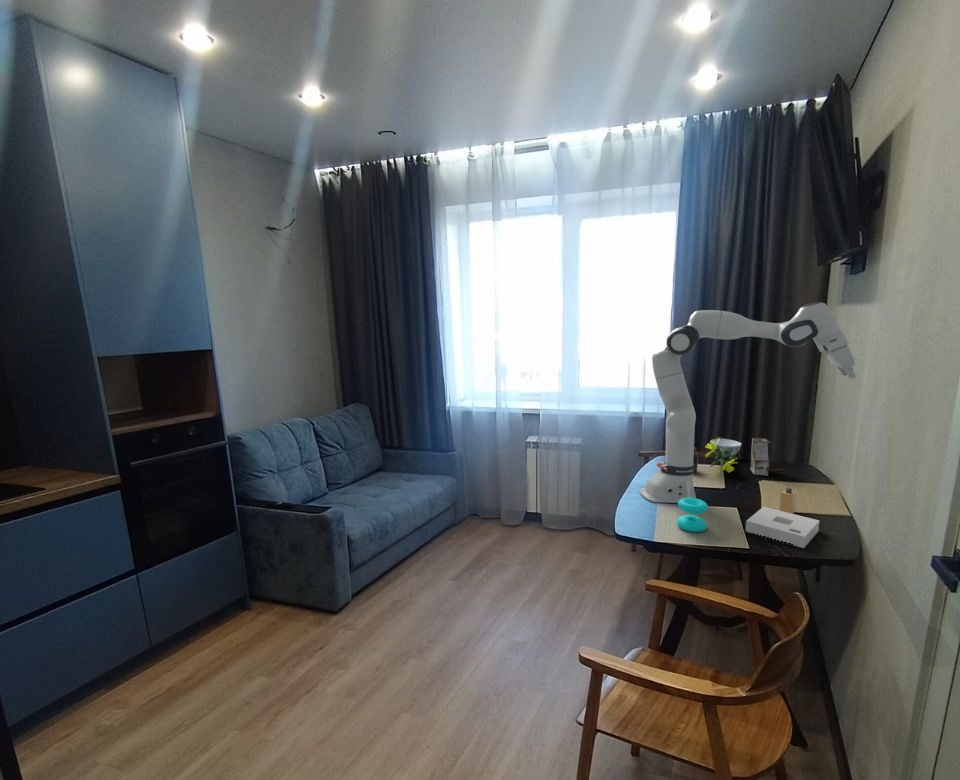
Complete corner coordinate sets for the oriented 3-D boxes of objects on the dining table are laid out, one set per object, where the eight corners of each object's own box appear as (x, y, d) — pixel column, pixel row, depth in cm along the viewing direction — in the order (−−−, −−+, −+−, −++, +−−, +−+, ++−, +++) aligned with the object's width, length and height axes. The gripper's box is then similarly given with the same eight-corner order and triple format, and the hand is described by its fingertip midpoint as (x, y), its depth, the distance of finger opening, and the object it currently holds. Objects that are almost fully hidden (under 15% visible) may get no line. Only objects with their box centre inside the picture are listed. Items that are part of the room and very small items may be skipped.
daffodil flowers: (750, 466, 249) (743, 466, 220) (721, 477, 256) (711, 478, 227) (733, 436, 255) (724, 432, 226) (705, 447, 262) (693, 445, 233)
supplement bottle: (692, 474, 236) (693, 450, 234) (679, 471, 241) (680, 447, 239) (700, 471, 240) (701, 447, 238) (687, 468, 245) (688, 445, 243)
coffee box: (768, 475, 232) (771, 442, 229) (753, 474, 234) (755, 442, 231) (764, 470, 240) (766, 438, 238) (749, 468, 242) (752, 437, 240)
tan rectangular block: (779, 511, 191) (781, 488, 189) (782, 509, 193) (784, 486, 192) (791, 514, 188) (793, 491, 186) (794, 511, 191) (796, 488, 189)
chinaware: (744, 456, 263) (745, 442, 262) (734, 462, 253) (735, 447, 252) (715, 450, 274) (716, 437, 273) (704, 456, 264) (705, 442, 263)
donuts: (705, 509, 170) (675, 503, 176) (703, 536, 172) (674, 529, 178) (710, 499, 178) (681, 494, 184) (709, 525, 180) (680, 519, 186)
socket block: (745, 531, 175) (746, 519, 174) (762, 516, 187) (763, 505, 186) (803, 548, 162) (805, 536, 161) (818, 531, 174) (819, 519, 173)
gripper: (815, 345, 189) (832, 377, 188) (827, 347, 171) (846, 383, 170) (834, 337, 186) (851, 370, 186) (848, 339, 168) (867, 375, 167)
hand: (849, 376), depth 178 cm, fingers open, 8 cm apart
